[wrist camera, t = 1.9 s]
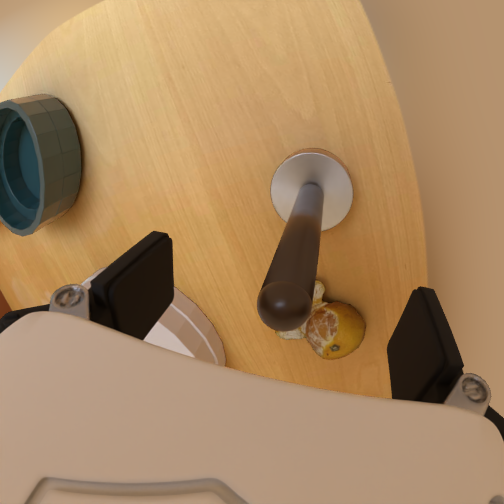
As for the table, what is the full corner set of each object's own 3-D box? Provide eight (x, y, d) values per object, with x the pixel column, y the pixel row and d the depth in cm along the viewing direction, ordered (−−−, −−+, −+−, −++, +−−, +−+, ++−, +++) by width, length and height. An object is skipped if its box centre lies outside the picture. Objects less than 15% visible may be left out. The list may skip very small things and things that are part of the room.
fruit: (299, 270, 27) (294, 294, 23) (381, 300, 26) (385, 325, 23) (272, 333, 31) (265, 357, 28) (344, 356, 30) (343, 382, 27)
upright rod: (280, 141, 22) (186, 210, 8) (357, 156, 21) (408, 256, 7) (271, 213, 25) (190, 358, 11) (342, 227, 24) (344, 395, 10)
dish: (227, 406, 40) (216, 433, 36) (106, 365, 44) (91, 384, 40) (224, 285, 29) (206, 316, 25) (67, 251, 34) (42, 269, 29)
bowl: (12, 102, 26) (-23, 111, 20) (84, 86, 23) (40, 90, 18) (21, 208, 33) (-9, 225, 28) (90, 224, 30) (55, 247, 25)
